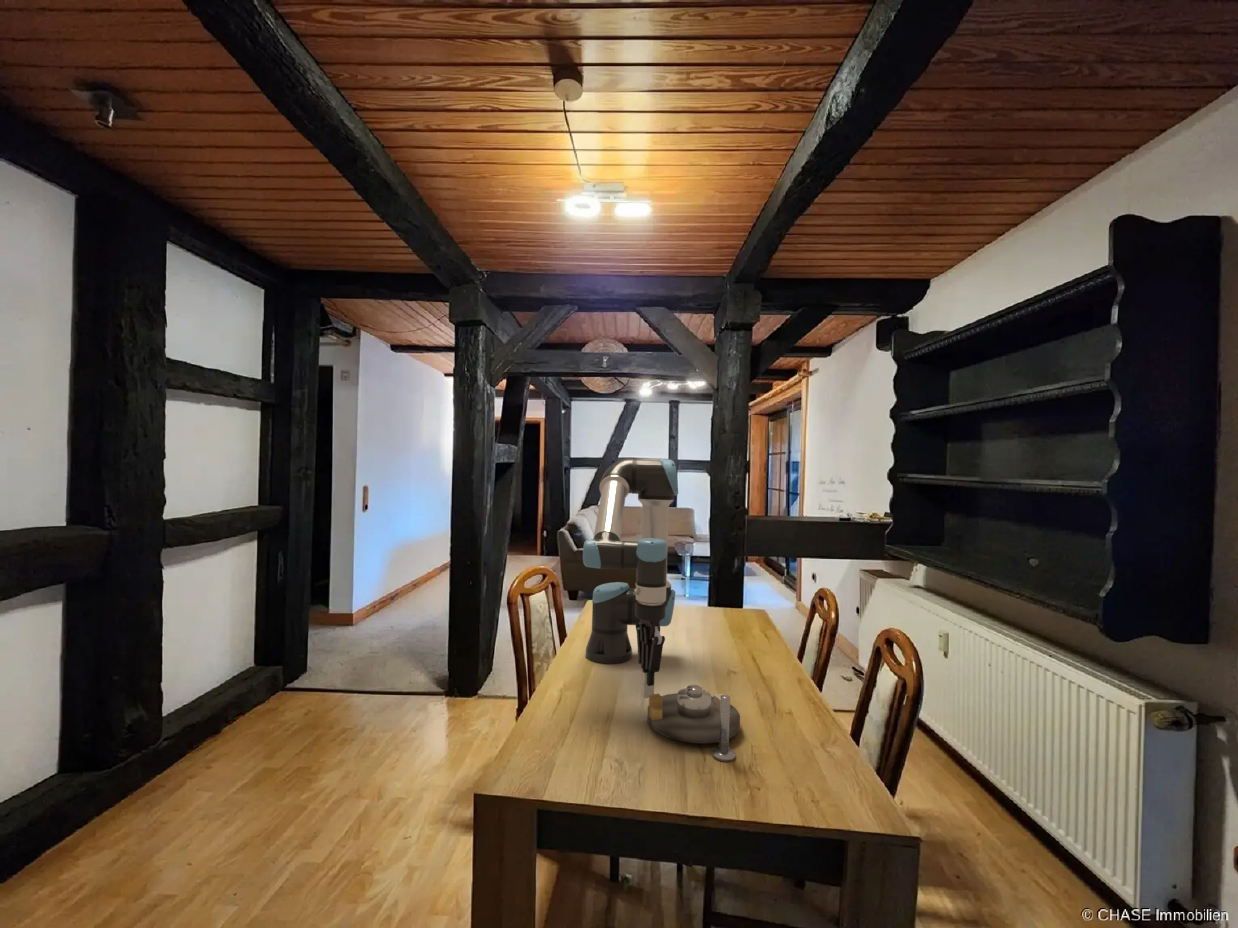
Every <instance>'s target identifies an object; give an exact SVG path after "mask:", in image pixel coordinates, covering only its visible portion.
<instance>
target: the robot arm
mask: <svg viewBox="0 0 1238 928" xmlns="http://www.w3.org/2000/svg"><path fill="white" fill-rule="evenodd" d="M676 467H677V466H676V463H675V462H674V460H672V459H669V458H666V459H665V458H662V457H661V458H646V457H645V458H644V457H643V458H642V457H640V458H638V457H636V458H635V457H634V458H633V457H626V458H622V459H620V460H618V461H616V462H615V463H612V465H610V466H609V467H608V468H607V469H606V470H605V472H603V474H602V477H601V478H600V482H599V493H600V500H599V503H598V504H599V505H598V510H597V517H596V521H595V522H596V523H595V526H594V533H593V538H591V539H586V540H584V542H583V547H582V562H583V565H584V566H585V567H586V568H592V569H602V570H603V569H605V570H607V569H609V570H611V569H613V570H618V569H619V570H634V571H636V576H635V577H636V582H635V584H634V585H635V587H634V588H631V587H630V585H629V583H627V582H620V581H616V582H607V583H602V584H600V585H598V586H596V587H595V588H594V589H593V591H592V600H591V604H592V609H591V610H592V612H591V613H592V615H591V616H592V617H591V632H590V636H589V638H588V641H587V644H586V647H585V657H586V658H587V657H588V658H589V659H588V658H587V659H588V660H590V661H592V662H594V661H596V662H595V663H599V662H600V663H599V664H609V665H610V664H612V665H613V664H620V663H625V662H627V661H630V660H631V659H632V657H633V648H632V645H631V641H630V638H629V633H628V626H634V627H635V631H636V640H637V641H636V643H637V656H638V657H637V659H638V664H640V667H641V669H642V671H641V673H642V674H641V697H642V698H643V699H649V695H651V694H655V675H656V674H655V673H658V672H660V668H661V662H662V661H661V660H662V654H663V647H664V643H665V642H666V637H665V635H661V627H667V626H670V625H671V623H672V620H673V619H672V618H673V614H674V610H675V609H674V608H675V600H676V591H675V590H674V589H672V584H671V583H670V582H669V580H668V578H667V577H668V576H667V575H668V574H667V573H668V555H669V553H668V548H669V546H668V544H669V543H668V542H669V508H670V505H671V504H672V503H673V502H674V500H675V499H674V496H678V495H679V486H678V485H679V483H678V476H677V468H676ZM629 494H636V495H637V500H638V501H639V503H640V504H641V505H642V512H641V514H642V515H641V539H639V540H621V539H622V530H623V522H624V521H623V520H624V513H625V503H626V498H627V496H628V495H629Z"/></svg>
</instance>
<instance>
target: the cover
mask: <svg viewBox="0 0 1238 928" xmlns="http://www.w3.org/2000/svg"><path fill="white" fill-rule="evenodd" d="M677 693H678V701H677V711H678V713H679V714H680V715H682V716H684V717H687V718H692V719H702V718H706V717H708V716H709V715H710V714H711V696H712V694H711V693H710V692H709V691H707V690H705V689H703V687H702V686H700V685H698V684H691V685H690V684H689V685H687V687H686V688H682V689H680V690H678V691H677Z"/></svg>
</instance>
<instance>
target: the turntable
mask: <svg viewBox="0 0 1238 928" xmlns="http://www.w3.org/2000/svg"><path fill="white" fill-rule="evenodd" d="M677 701H678V692H675V693H667V694H664V695H661V694H660V693H654V694H651V695H649V698H648V706H647V712H646V713H647V716H646V717H647V719H646V720H647V723H648V724H649V726H650V727H651V728H652V729H654V731H655V732H657V733H658V734H660V735H663V736H665V737H667V738H669V739H673V740H676V741H679V742H684V743H691V744H714V743H719V739H720V711H719V710H718V709H717V708H715V707H714V706H713V696H712V695H711V714H710V715H709V716H708V717H706V718H702V719H692V718H687V717H684V716H682V715H680V714H679V713H678V711H677ZM740 729H741V715H740V712H739V711H738V709H737V708H736V707H735V706H734V705H732V704H731V703H730V719H729V739H731V738H732V737H735V736H736V735H737V734H738V733H739V731H740Z"/></svg>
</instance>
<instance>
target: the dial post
mask: <svg viewBox="0 0 1238 928" xmlns="http://www.w3.org/2000/svg"><path fill="white" fill-rule="evenodd" d="M712 697H713V706H714V707H715V708H717V709H718V710H719V711H720V739H719V742H718V744H719V745H718V746H715V747H713V748H712V750H711V756H712V757H713V759H714V760H715V761H718V762H722V763H731V762H733V761H735V760H736V752H735V750H734V749H733V748H731V747H730V746H729V745H730V742H729V741H730V738H729V719H730V704H731V696H730V695H727V694H724V693H716V694H713V696H712Z"/></svg>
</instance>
